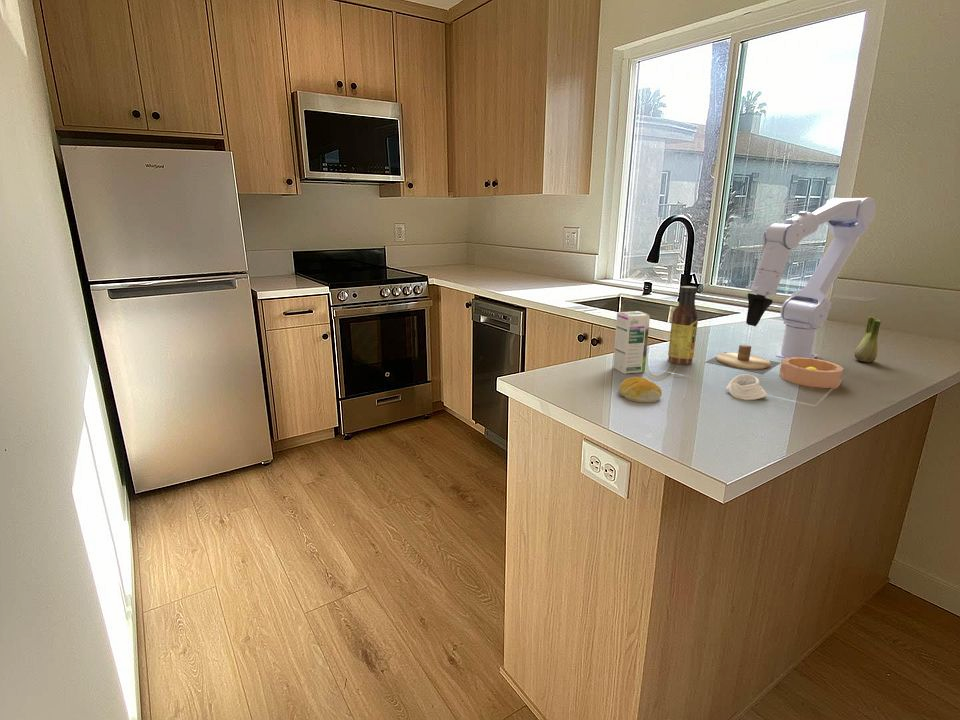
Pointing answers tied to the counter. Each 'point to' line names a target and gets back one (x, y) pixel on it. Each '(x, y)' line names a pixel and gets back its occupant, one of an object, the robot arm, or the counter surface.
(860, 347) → the fennel bulb
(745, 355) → the lid
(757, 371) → the mat
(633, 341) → the syrup box
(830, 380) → the ring
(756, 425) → the counter surface
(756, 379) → the whipped cream
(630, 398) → the bread roll
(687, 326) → the sauce bottle
